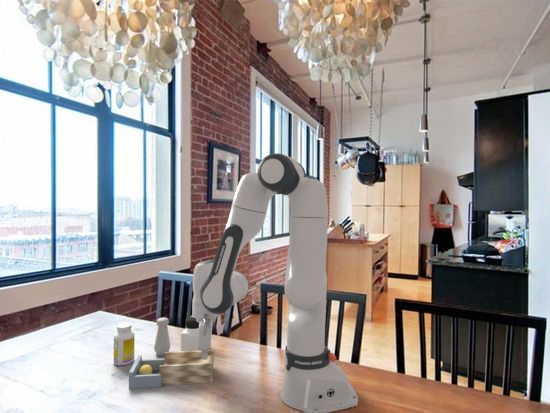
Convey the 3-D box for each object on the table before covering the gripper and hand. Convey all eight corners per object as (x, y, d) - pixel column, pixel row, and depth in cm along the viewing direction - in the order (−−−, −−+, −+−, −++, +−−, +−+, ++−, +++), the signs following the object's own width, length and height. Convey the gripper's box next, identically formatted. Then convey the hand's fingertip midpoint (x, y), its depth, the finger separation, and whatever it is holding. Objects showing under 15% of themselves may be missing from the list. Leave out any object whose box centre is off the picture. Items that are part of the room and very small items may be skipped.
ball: (148, 359, 108) (155, 369, 109) (138, 367, 108) (145, 376, 108) (146, 366, 104) (153, 376, 105) (134, 373, 104) (142, 383, 104)
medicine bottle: (198, 353, 124) (199, 321, 124) (180, 351, 125) (181, 320, 125) (205, 345, 131) (206, 315, 131) (188, 343, 132) (188, 313, 132)
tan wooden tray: (213, 367, 114) (213, 349, 114) (212, 382, 104) (213, 363, 104) (164, 369, 112) (165, 352, 112) (159, 386, 102) (159, 366, 102)
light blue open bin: (166, 368, 112) (167, 354, 112) (160, 386, 101) (161, 370, 101) (137, 370, 111) (138, 355, 111) (128, 388, 100) (128, 372, 100)
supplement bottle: (137, 357, 120) (137, 322, 120) (129, 366, 114) (129, 329, 113) (118, 357, 120) (119, 321, 120) (109, 366, 113) (110, 328, 113)
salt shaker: (165, 357, 120) (165, 322, 120) (150, 356, 121) (151, 320, 121) (173, 350, 126) (173, 316, 126) (159, 349, 127) (159, 315, 127)
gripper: (215, 320, 99) (214, 367, 99) (216, 300, 119) (215, 338, 119) (193, 321, 98) (192, 368, 98) (198, 300, 118) (197, 339, 118)
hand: (205, 351), depth 109 cm, fingers open, 8 cm apart
